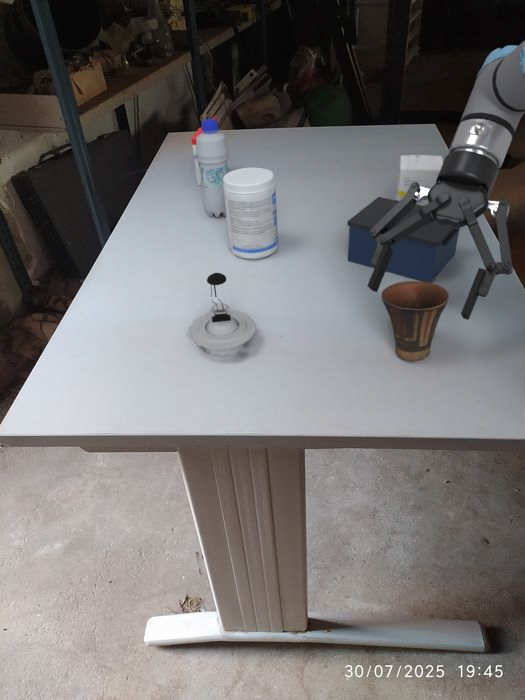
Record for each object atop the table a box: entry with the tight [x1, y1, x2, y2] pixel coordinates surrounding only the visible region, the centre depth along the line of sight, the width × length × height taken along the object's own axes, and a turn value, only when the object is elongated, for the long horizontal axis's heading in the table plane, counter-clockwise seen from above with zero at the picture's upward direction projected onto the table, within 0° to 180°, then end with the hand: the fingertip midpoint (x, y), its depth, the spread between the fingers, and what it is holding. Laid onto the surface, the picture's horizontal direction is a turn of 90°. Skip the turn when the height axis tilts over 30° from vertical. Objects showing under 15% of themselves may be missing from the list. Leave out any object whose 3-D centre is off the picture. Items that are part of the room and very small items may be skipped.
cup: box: [380, 280, 450, 362], centre depth 76 cm, size 9×9×10 cm
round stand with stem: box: [188, 272, 257, 357], centre depth 79 cm, size 12×10×10 cm
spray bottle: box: [190, 114, 218, 187], centre depth 133 cm, size 8×5×15 cm, turn 172°
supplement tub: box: [223, 167, 279, 260], centre depth 102 cm, size 10×10×15 cm
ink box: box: [394, 154, 444, 206], centre depth 111 cm, size 9×8×12 cm
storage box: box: [346, 196, 461, 283], centre depth 98 cm, size 17×13×8 cm
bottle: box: [196, 118, 230, 218], centre depth 114 cm, size 7×7×20 cm
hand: (416, 302), depth 75 cm, fingers open, 13 cm apart
